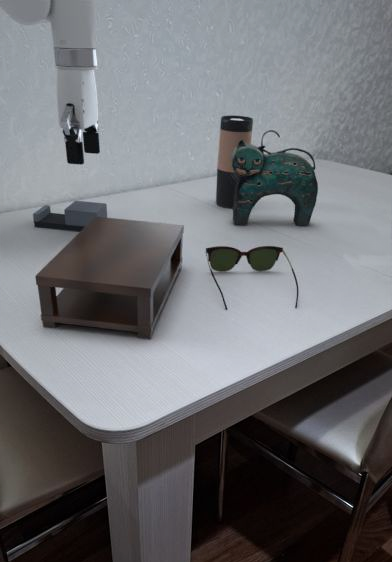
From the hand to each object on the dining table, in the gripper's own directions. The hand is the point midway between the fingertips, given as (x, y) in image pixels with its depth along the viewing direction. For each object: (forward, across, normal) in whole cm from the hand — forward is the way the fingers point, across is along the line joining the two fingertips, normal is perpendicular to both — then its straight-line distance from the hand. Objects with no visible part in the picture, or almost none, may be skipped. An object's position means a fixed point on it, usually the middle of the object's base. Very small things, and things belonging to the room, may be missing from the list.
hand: (84, 158), depth 101 cm
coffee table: (+14, +29, +15) cm, 36 cm away
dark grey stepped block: (+14, 0, -4) cm, 15 cm away
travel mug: (+15, -26, +28) cm, 41 cm away
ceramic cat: (+15, -14, +38) cm, 43 cm away
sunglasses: (+15, +22, +36) cm, 45 cm away
